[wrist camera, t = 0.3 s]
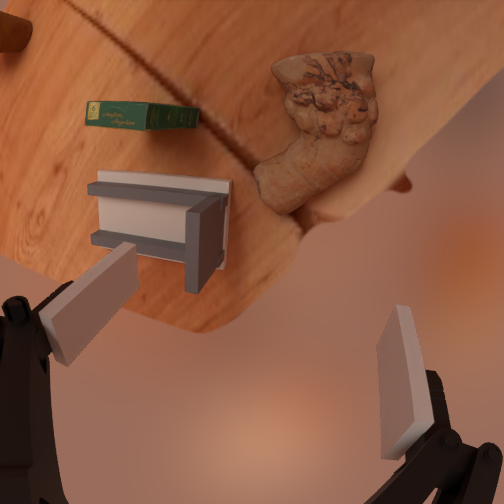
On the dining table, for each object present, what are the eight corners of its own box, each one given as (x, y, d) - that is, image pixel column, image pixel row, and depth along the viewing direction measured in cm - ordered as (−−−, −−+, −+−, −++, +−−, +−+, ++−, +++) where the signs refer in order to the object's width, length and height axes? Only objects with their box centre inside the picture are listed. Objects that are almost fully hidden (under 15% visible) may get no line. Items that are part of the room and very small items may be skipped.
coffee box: (143, 122, 40) (81, 126, 28) (146, 102, 39) (84, 99, 27) (197, 129, 39) (146, 133, 27) (200, 107, 38) (151, 102, 26)
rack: (103, 169, 43) (53, 184, 33) (232, 179, 40) (203, 198, 30) (106, 244, 48) (63, 272, 38) (226, 265, 45) (199, 306, 35)
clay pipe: (393, 122, 37) (334, 23, 30) (433, 147, 28) (364, 16, 21) (276, 193, 43) (206, 106, 36) (284, 237, 35) (192, 126, 27)
